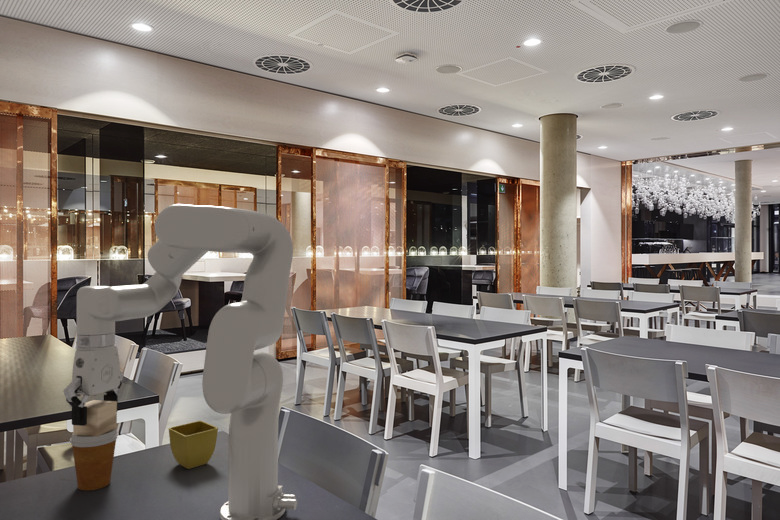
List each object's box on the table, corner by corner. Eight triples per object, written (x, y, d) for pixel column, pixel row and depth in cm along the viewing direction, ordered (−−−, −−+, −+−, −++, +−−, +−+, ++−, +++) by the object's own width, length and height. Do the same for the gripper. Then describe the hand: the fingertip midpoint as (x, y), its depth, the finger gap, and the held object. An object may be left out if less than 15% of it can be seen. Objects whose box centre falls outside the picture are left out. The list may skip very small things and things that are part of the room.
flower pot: (218, 463, 131) (219, 427, 131) (185, 474, 125) (185, 436, 125) (200, 455, 137) (200, 420, 137) (167, 464, 131) (167, 428, 131)
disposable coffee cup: (59, 488, 117) (60, 433, 117) (101, 473, 125) (101, 422, 125) (86, 497, 112) (87, 440, 112) (127, 481, 121) (127, 428, 121)
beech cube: (116, 427, 121) (116, 401, 121) (97, 436, 115) (97, 408, 115) (93, 426, 122) (93, 400, 122) (73, 434, 116) (73, 407, 116)
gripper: (82, 348, 110) (81, 431, 110) (136, 336, 127) (135, 408, 127) (50, 347, 111) (49, 429, 111) (107, 335, 128) (107, 407, 128)
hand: (95, 418), depth 119 cm, fingers open, 9 cm apart
